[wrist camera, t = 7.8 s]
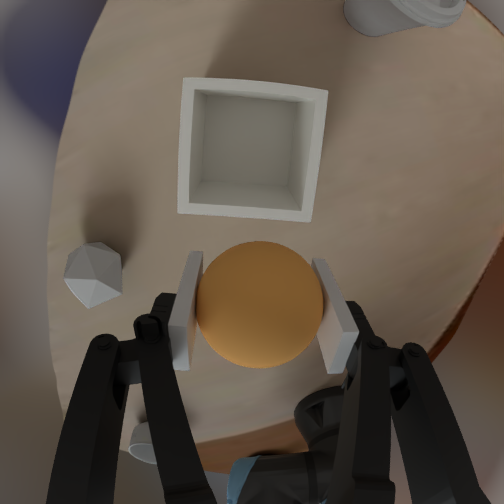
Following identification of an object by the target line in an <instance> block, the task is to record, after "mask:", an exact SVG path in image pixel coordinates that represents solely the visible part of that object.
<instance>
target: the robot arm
mask: <svg viewBox="0 0 504 504" xmlns="http://www.w3.org/2000/svg"><path fill="white" fill-rule="evenodd" d="M311 268H312V269H313V270H314V272H315V274H316V276H317V278H318V280H319V283H320V286H321V289H322V294H323V315H322V320H321V324H320V326H319V329H318V331H317V334H316V335H317V338H318V342H319V345H320V348H321V352H322V355H323V359H324V362H325V366H326V370H327V373H328V374H337V373H343V371H344V368H345V366H346V367H347V370H348V374H347V376H346V378H345V380H344V382H343V384H342V386H340V387H332V388H328V389H324V390H321V391H318V392H316V393H313V394H311V395H310V396H308V397H306V398H305V399H303V400H302V401H301V402H300V403H299V404H298V405H297V407H296V408H295V411H294V417H295V423H296V426H297V427H298V429H299V431H300V432H301V434H302V436H303V437H304V439H305V441H306V442H307V444H308V449H309V451H308V452H300V453H291V454H282V455H270V456H261V455H258V456H256V457H247V458H240V459H238V460H236V461H235V462H234V464H233V466H232V468H231V471H230V475H229V481H228V488H227V498H228V499H227V504H394V502H395V484H394V482H392V481H390V479H389V471H390V449H391V448H390V447H391V416H392V419H393V423H394V427H395V430H396V434H397V438H398V442H399V446H400V450H401V454H402V458H403V462H404V466H405V471H406V475H407V480H408V485H409V489H410V494H411V499H412V504H491V503H490V501H489V500H488V498H487V497H486V495H485V494H484V493H483V491H482V490H481V488H480V487H479V484H478V481H477V478H476V474H475V471H474V468H473V465H472V462H471V459H470V456H469V453H468V450H467V447H466V444H465V442H464V439H463V436H462V434H461V431H460V428H459V426H458V423H457V421H456V418H455V416H454V413H453V411H452V408H451V406H450V404H449V401H448V399H447V397H446V395H445V392H444V390H443V387H442V385H441V383H440V381H439V379H438V377H437V374H436V372H435V370H434V368H433V366H432V364H431V362H430V359H429V357H428V355H427V353H426V351H425V350H424V349H423V347H421V346H420V345H418V344H416V343H411V342H410V343H406V344H405V345H404V346H403V348H402V349H397V348H391V347H388V346H387V343H386V342H385V341H384V340H383V339H382V338H380V337H378V336H375V334H374V332H373V330H372V328H371V326H370V324H369V322H368V320H366V316H365V315H364V313H363V311H362V309H361V307H360V306H359V305H358V304H357V303H356V302H355V301H345V300H344V297H343V295H342V293H341V291H340V289H339V287H338V285H337V283H336V281H335V279H334V277H333V275H332V273H331V271H330V268H329V266H328V264H327V262H326V260H325V259H319V258H313V259H312V264H311ZM202 276H203V251H190V253H189V256H188V259H187V262H186V266H185V269H184V272H183V275H182V279H181V282H180V285H179V288H178V292H177V294H173V293H161V294H160V295H159V296H158V297H157V298H156V299H155V302H154V304H153V307H152V310H151V312H150V314H144V315H141V316H139V317H137V318H136V320H135V321H134V324H133V326H134V331H135V336H136V338H135V339H132V340H127V341H118V339H117V338H116V337H115V336H114V335H111V334H101V335H98V336H96V337H95V338H93V339H92V341H91V342H90V345H89V347H88V350H87V353H86V356H85V358H84V361H83V364H82V367H81V370H80V372H79V375H78V378H77V381H76V384H75V387H74V390H73V394H72V397H71V400H70V403H69V407H68V410H67V413H66V417H65V420H64V424H63V427H62V431H61V435H60V439H59V443H58V447H57V451H56V455H55V460H54V464H53V469H52V473H51V479H50V483H49V489H48V495H47V501H46V504H113V500H114V489H115V478H116V470H117V461H118V453H119V446H120V439H121V432H122V425H123V419H124V413H125V407H126V402H127V396H128V391H129V385H130V384H138V383H142V390H143V396H144V402H145V408H146V414H147V419H148V425H149V430H150V435H151V440H152V445H153V449H154V454H155V458H156V462H157V466H158V470H159V474H160V478H161V482H162V486H163V490H164V498H165V502H166V504H217V502H216V499H215V497H214V494H213V492H212V489H211V488H210V486H209V484H208V481H207V479H206V476H205V473H204V470H203V467H202V464H201V461H200V458H199V455H198V452H197V449H196V446H195V443H194V440H193V437H192V433H191V430H190V427H189V423H188V420H187V417H186V413H185V410H184V406H183V402H182V399H181V395H180V391H179V387H178V384H177V380H176V376H175V372H174V370H185V371H190V365H191V359H192V352H193V346H194V340H195V334H196V327H197V316H196V294H197V289H198V286H199V283H200V280H201V278H202Z"/></svg>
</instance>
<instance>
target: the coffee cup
mask: <svg viewBox="0 0 504 504" xmlns="http://www.w3.org/2000/svg"><path fill="white" fill-rule="evenodd" d="M465 4H466V0H346V1H345V3H344V6H343V10H344V15H345V17H346V19H347V21H348V23H349V24H350V25H351V26H352V27H353V28H354V29H355V30H357V31H358V32H360V33H362V34H364V35H367V36H372V37H377V36H382V35H385V34H389V33H393V32H398V31H402V30H406V29H411V28H416V27H421V26H430V27H435V28H443V27H447V26H450V25H452V24H453V23H454V22H455V21H456V20H457V19H458V18H459V17H460V15H461V13H462V11H463V9H464V7H465Z"/></svg>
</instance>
